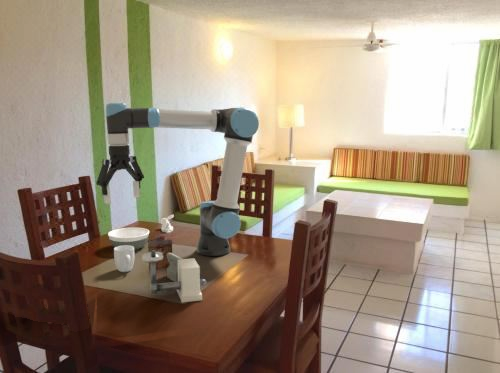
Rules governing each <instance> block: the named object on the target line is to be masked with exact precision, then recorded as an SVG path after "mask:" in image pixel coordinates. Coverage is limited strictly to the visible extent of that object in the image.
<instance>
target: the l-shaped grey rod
mask: <svg viewBox="0 0 500 373" xmlns="http://www.w3.org/2000/svg"><path fill="white" fill-rule="evenodd" d="M163 260H164V253H163V252H160V251H156V250H150V251H148V252H145V253H142V254H141V261H142V262H144V263H148V264H150V267H149V269H150V282H149V283H150V284H149V287H150V288H149V289H150V295H156V294H157V295H158V292H167V291H177V289H181V281H179V282H174V281H172V282H162V283H158V282H157V263H159V262H162V261H163ZM207 283H208V282H207V280H206V279H204V278H200V288H202V287H205V286H206V285H207Z"/></svg>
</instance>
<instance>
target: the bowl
mask: <svg viewBox="0 0 500 373" xmlns="http://www.w3.org/2000/svg"><path fill="white" fill-rule="evenodd" d="M149 234H150V230H149V229H147V228H144V227H138V226H137V227H133V226H131V227H122V228H116V229H113V230H110V231H108V233H107V236H108V237H109V238H108V239H109V243H110V244H111V246H112V247H114V248H115V247H118V246H123V245H130V246H133V247H134V251H137V250H140V249H141V248H143V247H145V246H144V245H146V244H147V242H148V241H149Z"/></svg>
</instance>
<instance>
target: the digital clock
mask: <svg viewBox="0 0 500 373" xmlns="http://www.w3.org/2000/svg"><path fill="white" fill-rule="evenodd" d="M166 259H167V260H168V264H169V265H168V267H167V268H166V277H167V279H169V280H171V281H172V282H178V261H177V260H180V259H183V258H182V257H180V256H178V255H176V254H174V253H172V252H167V253H166Z"/></svg>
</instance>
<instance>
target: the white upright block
mask: <svg viewBox="0 0 500 373" xmlns="http://www.w3.org/2000/svg"><path fill="white" fill-rule="evenodd" d="M177 261H178V282H179V281H181V289H177V290H176V292H177V294H178V297H179V300H180V302H181V303H182V304H183V303H188V302H189V303H190V302H198V301H199V302H200V301H203V293H202V291H201V287H200V279H201V267H200V265H199V264H198V262H197V261H196V259H195V257H193V258H182V259H180V260H177Z"/></svg>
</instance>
